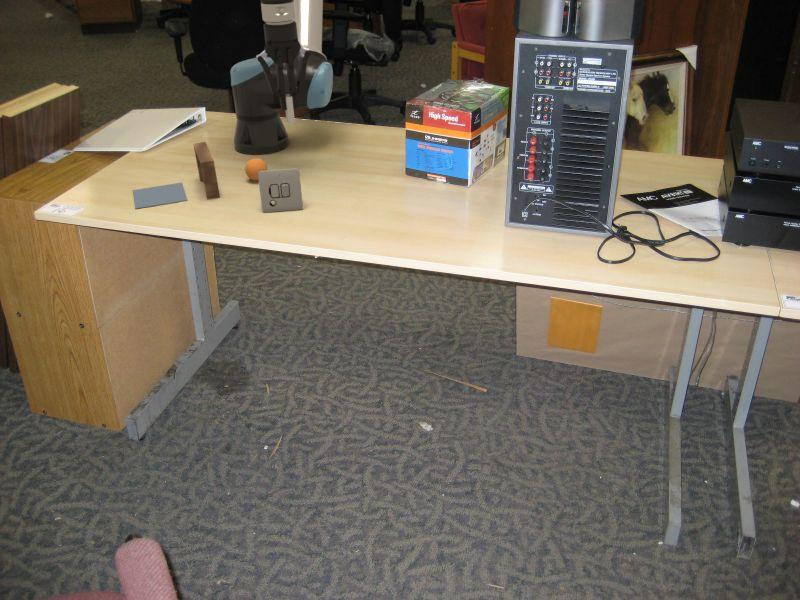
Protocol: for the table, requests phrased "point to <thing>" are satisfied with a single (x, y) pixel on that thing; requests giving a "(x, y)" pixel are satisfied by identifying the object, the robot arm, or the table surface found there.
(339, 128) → the table surface
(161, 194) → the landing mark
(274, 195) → the electrical switch
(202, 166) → the brown bridge block
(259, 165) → the ball
